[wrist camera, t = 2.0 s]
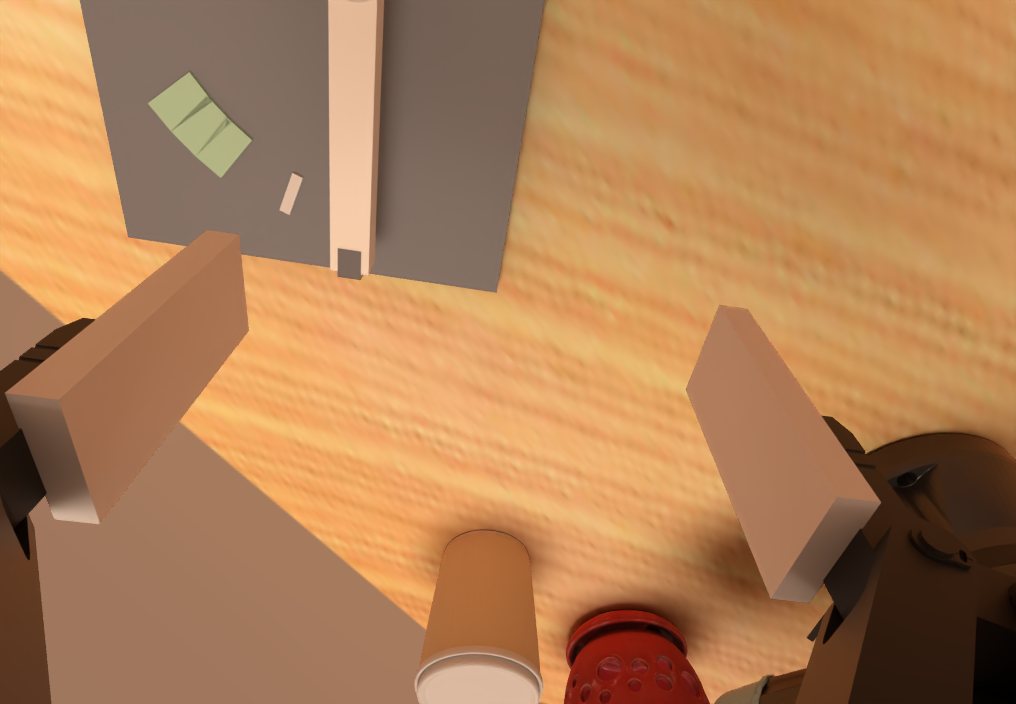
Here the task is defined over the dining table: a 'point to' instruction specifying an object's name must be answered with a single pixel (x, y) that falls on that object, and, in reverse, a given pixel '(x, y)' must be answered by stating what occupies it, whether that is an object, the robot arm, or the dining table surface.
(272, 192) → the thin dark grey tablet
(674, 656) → the plant pot
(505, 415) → the dining table surface
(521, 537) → the dining table surface
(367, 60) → the knob-ended beige rod
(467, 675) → the coffee cup
